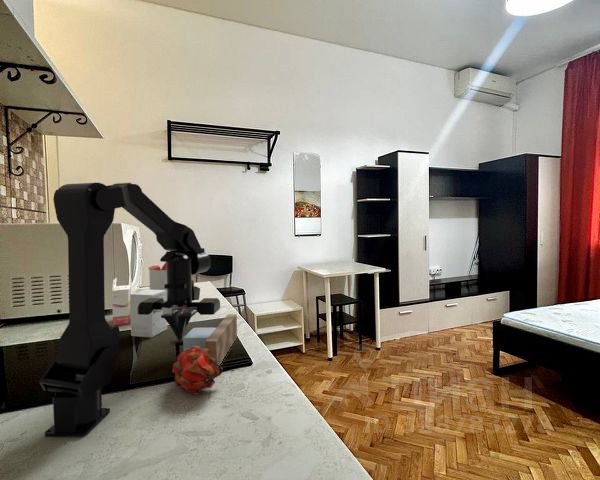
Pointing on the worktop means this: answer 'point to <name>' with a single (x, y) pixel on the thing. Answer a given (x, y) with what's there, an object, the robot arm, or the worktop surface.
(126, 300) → the ink cartridge box
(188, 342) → the slate block
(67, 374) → the robot arm
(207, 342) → the walnut board
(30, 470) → the worktop surface
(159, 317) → the supplement box
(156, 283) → the citrus juicer
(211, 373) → the dragon fruit
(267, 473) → the worktop surface
